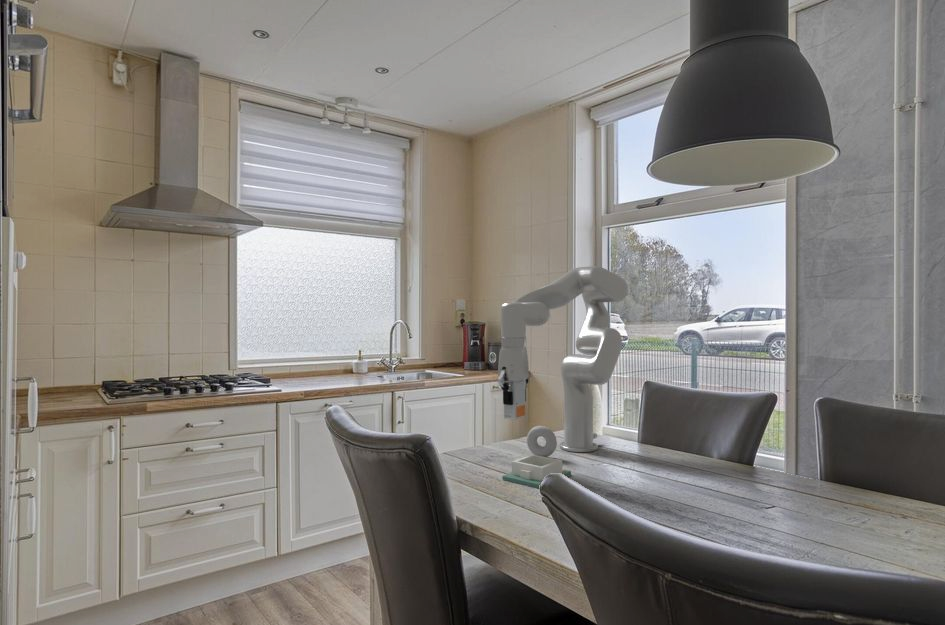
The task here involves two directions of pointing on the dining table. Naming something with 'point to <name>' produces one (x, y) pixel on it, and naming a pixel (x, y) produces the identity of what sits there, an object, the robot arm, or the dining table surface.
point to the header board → (534, 470)
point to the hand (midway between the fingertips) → (514, 402)
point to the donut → (549, 438)
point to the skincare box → (516, 401)
